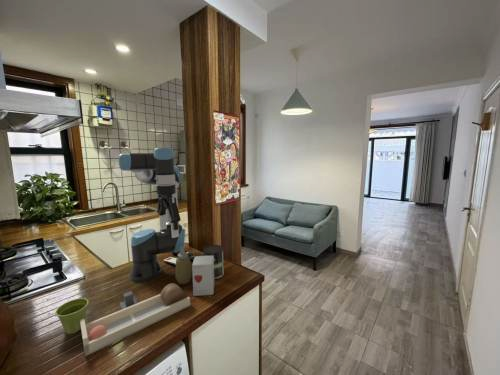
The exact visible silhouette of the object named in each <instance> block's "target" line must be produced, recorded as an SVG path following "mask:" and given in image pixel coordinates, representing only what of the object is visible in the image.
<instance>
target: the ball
mask: <svg viewBox="0 0 500 375" xmlns="http://www.w3.org/2000/svg"><path fill="white" fill-rule="evenodd" d="M105 334H107V329H106V327H105V326H103V325H99V326H96V327H94V328H93V329H92V330H91V332H90V334H89V340H90V341H92V340H94V339H96V338H99V337H101V336H103V335H105Z"/></svg>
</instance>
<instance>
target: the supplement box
mask: <svg viewBox="0 0 500 375" xmlns="http://www.w3.org/2000/svg"><path fill="white" fill-rule="evenodd" d="M191 270H192V294H193V297H195V296H197V297H199V296H211V295H212V296H213V295H214V290H215V279H214V256H204V255H196V256H194V258H193V262H192V264H191Z"/></svg>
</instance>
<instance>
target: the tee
mask: <svg viewBox="0 0 500 375" xmlns="http://www.w3.org/2000/svg"><path fill="white" fill-rule="evenodd" d="M122 295H123V301H122V302H119V307H120V310H122V309H125V308H127V307H129V306H132V305H134V304H137V303H139V302H138V300H137V298H136V297H135V296H134V294H133V291H132V290H129V291H126V292H124V293H122Z"/></svg>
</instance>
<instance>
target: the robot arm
mask: <svg viewBox="0 0 500 375" xmlns="http://www.w3.org/2000/svg"><path fill="white" fill-rule="evenodd" d="M118 167H119V169H120V170H121V171H127V172H129V171H130V172H132V174H134V177H135V179H136V180H137V181H139V182H140V183H142V184H147V185H151V186H152V185H154V186H155V185H156V194H157V195H158V200H157V208H156V209H157V210H156V213H157V214H158V217H159V231H156V230H155V229H154V228H148V229H143V230H139V231H138V232H134V233H133V235H131V238H130V246H131V255H132V265H131V268H130V272H129V277H130V280H131V281H132V282H135V283H142V282H149V281H150V280H154V279H156V278H157V277H159V276H160V275H161V274H162V273H163V272H162V271H163V270H162V269H163V268H162V265H161V263H160V261H159V259H158V255H163V254H170V253H176V252H180V250H181V247H184V248H185V237H186V236H185V235H186V229H185V228H183V226H182V225H181V224H180V222H181V220H182V219H181V216H180V211H179V203H178V202H179V201H178V188H179V186H180V184H181V183H182V177H181V172H180V168H179V166H178V165H175V155H174V150H173V148H171V147H156V148H154V149H153V152H140V153H139V152H135V153H134V152H133V153H132V152H127V153H120V154H119V155H118Z"/></svg>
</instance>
